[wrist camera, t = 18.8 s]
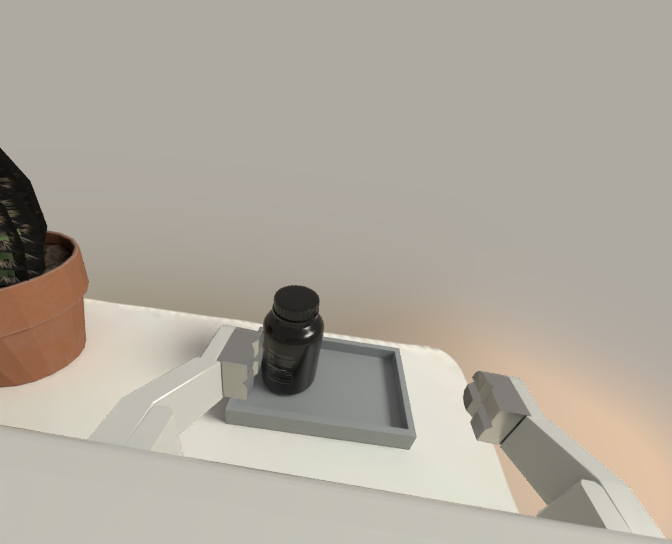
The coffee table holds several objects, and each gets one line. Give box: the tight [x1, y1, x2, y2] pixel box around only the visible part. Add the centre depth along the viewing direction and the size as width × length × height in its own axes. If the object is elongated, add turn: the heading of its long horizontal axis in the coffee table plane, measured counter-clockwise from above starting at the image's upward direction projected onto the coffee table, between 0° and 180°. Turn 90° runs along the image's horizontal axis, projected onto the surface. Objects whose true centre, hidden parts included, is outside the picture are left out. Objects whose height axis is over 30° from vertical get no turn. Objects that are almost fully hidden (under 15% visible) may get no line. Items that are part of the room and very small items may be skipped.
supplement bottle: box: [261, 285, 324, 396], centre depth 32 cm, size 7×7×12 cm
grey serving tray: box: [225, 327, 416, 449], centre depth 34 cm, size 20×12×2 cm, turn 87°
